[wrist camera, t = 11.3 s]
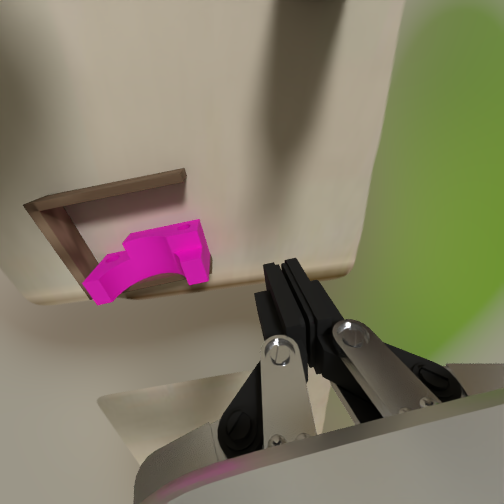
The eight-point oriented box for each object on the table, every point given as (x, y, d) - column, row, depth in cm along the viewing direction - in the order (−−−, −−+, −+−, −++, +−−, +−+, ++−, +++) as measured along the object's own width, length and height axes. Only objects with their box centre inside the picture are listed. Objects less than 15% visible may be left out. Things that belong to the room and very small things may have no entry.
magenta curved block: (199, 218, 33) (195, 240, 27) (210, 253, 37) (208, 281, 30) (99, 239, 33) (70, 266, 26) (119, 273, 36) (97, 305, 30)
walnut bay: (45, 195, 29) (22, 204, 26) (184, 168, 30) (180, 173, 26) (102, 283, 36) (90, 299, 33) (212, 259, 37) (211, 273, 33)
